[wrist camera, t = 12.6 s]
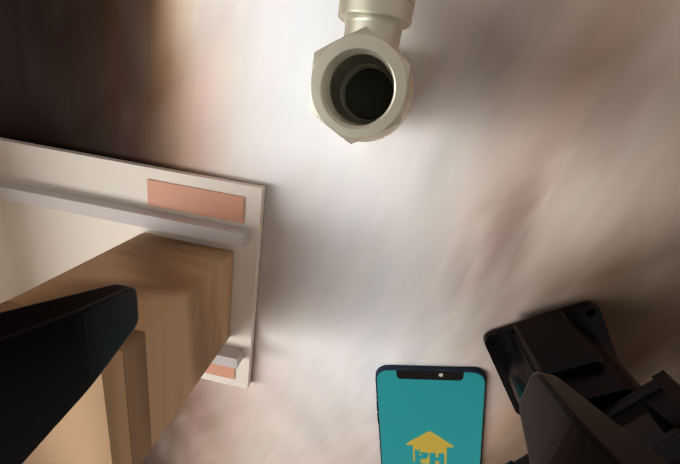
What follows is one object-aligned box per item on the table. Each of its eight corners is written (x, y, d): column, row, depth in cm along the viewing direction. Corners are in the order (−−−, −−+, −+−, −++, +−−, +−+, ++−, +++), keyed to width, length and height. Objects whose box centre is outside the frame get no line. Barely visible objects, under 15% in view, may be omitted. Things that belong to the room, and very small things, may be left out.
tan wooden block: (233, 250, 21) (101, 370, 12) (229, 337, 24) (116, 498, 14) (142, 232, 22) (-59, 332, 12) (147, 319, 24) (-19, 462, 14)
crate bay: (265, 186, 20) (211, 220, 14) (250, 382, 26) (206, 469, 20) (-16, 134, 22) (-176, 144, 16) (24, 330, 27) (-83, 395, 21)
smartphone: (384, 520, 28) (373, 370, 23) (384, 509, 29) (374, 362, 24) (478, 527, 27) (488, 371, 22) (475, 515, 28) (484, 363, 23)
